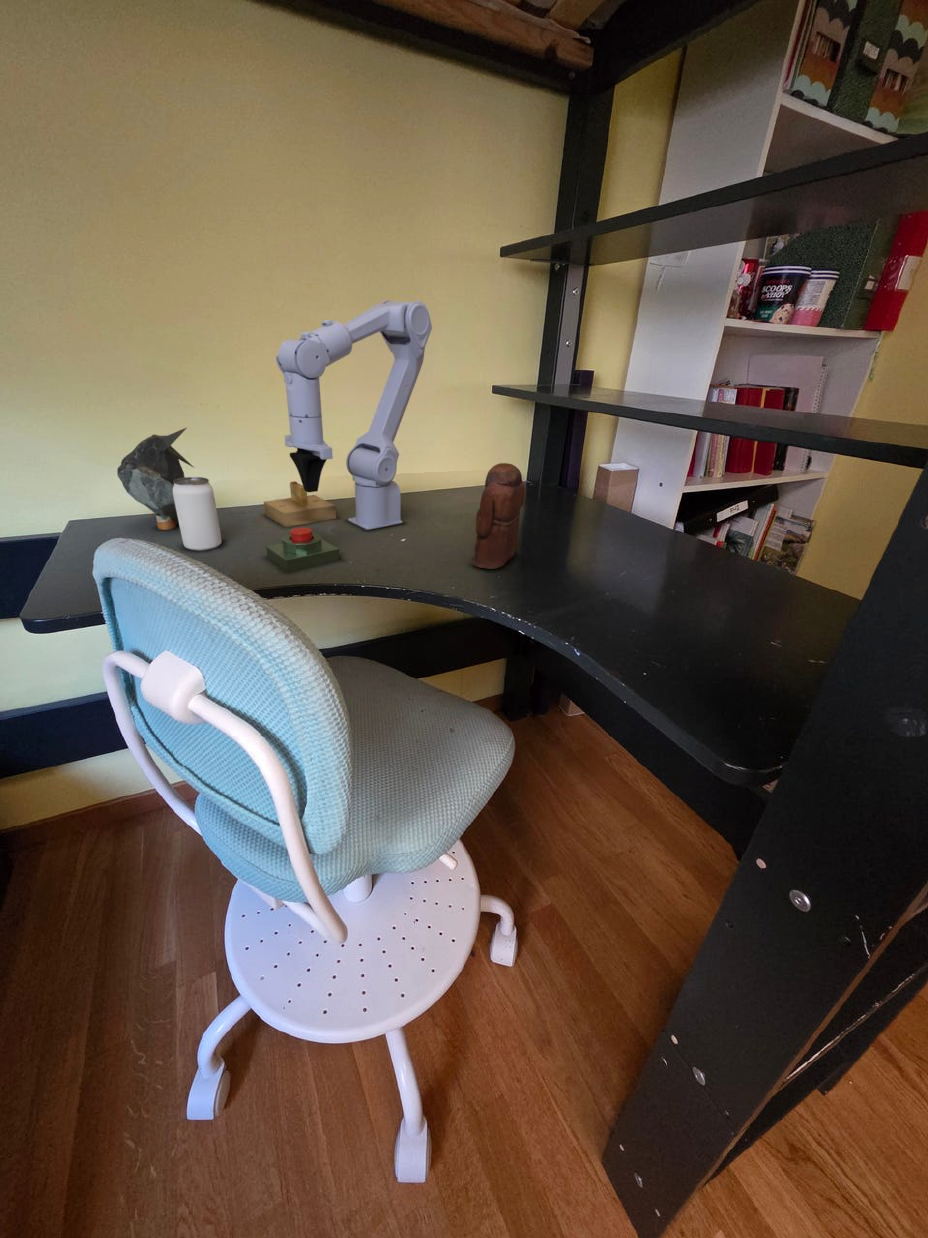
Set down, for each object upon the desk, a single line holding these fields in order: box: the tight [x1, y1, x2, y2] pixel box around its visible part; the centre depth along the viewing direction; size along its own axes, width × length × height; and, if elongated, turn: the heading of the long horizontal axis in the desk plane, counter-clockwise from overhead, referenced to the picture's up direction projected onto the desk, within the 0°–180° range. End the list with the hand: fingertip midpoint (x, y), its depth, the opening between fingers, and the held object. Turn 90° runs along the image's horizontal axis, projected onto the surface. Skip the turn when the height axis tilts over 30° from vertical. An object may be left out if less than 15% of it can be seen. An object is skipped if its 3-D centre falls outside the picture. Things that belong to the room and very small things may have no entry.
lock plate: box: [263, 494, 337, 528], centre depth 113 cm, size 12×10×3 cm
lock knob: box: [289, 480, 308, 506], centre depth 111 cm, size 5×1×4 cm, turn 42°
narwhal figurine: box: [117, 427, 194, 531], centre depth 101 cm, size 14×15×18 cm
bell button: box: [289, 527, 313, 542], centre depth 90 cm, size 4×4×2 cm
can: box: [173, 476, 223, 552], centre depth 92 cm, size 6×6×12 cm
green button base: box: [265, 532, 340, 573], centre depth 92 cm, size 10×8×4 cm
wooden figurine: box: [472, 462, 526, 570], centre depth 94 cm, size 12×6×18 cm, turn 156°
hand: (311, 491), depth 98 cm, fingers closed
